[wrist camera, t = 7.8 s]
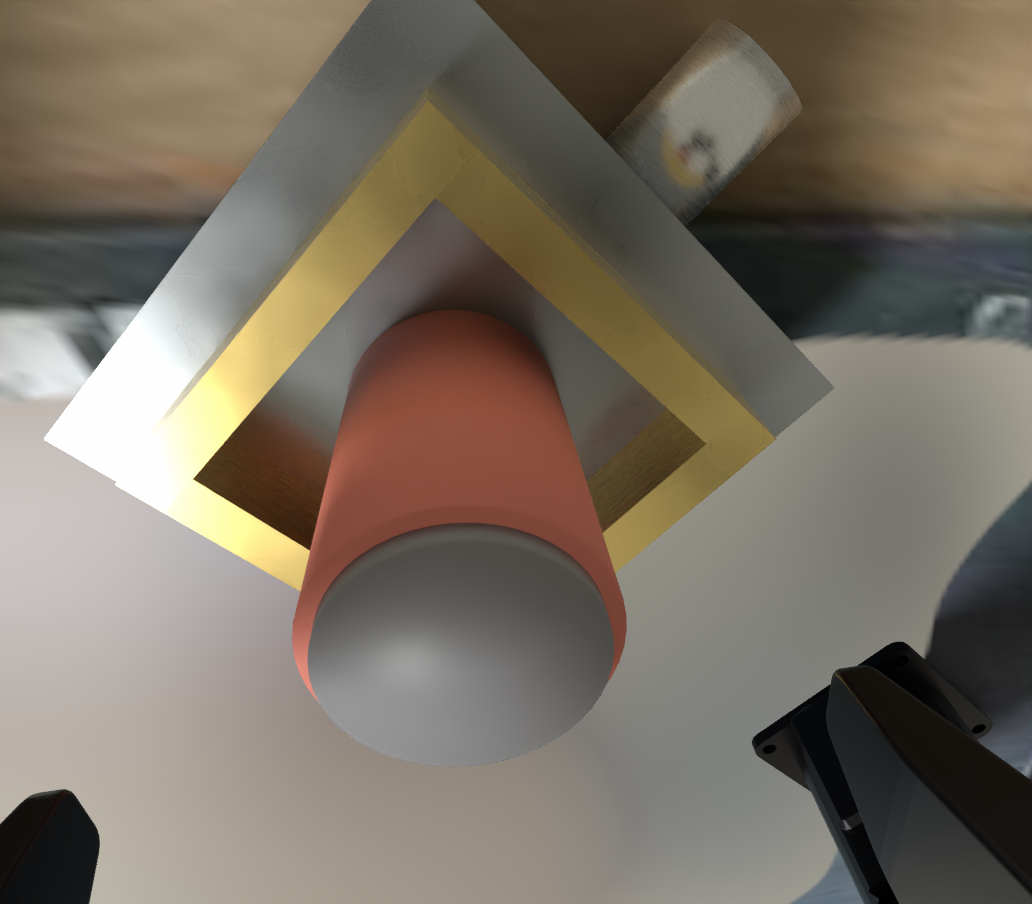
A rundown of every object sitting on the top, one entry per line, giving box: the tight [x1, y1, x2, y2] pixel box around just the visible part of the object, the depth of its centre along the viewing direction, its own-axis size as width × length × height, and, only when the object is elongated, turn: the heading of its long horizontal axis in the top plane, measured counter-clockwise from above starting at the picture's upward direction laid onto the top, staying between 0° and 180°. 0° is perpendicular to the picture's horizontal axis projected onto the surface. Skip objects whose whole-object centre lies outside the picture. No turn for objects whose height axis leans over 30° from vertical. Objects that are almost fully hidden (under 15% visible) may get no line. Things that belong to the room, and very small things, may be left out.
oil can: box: [292, 310, 626, 767], centre depth 13 cm, size 4×4×7 cm
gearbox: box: [44, 0, 834, 591], centre depth 16 cm, size 12×15×5 cm
